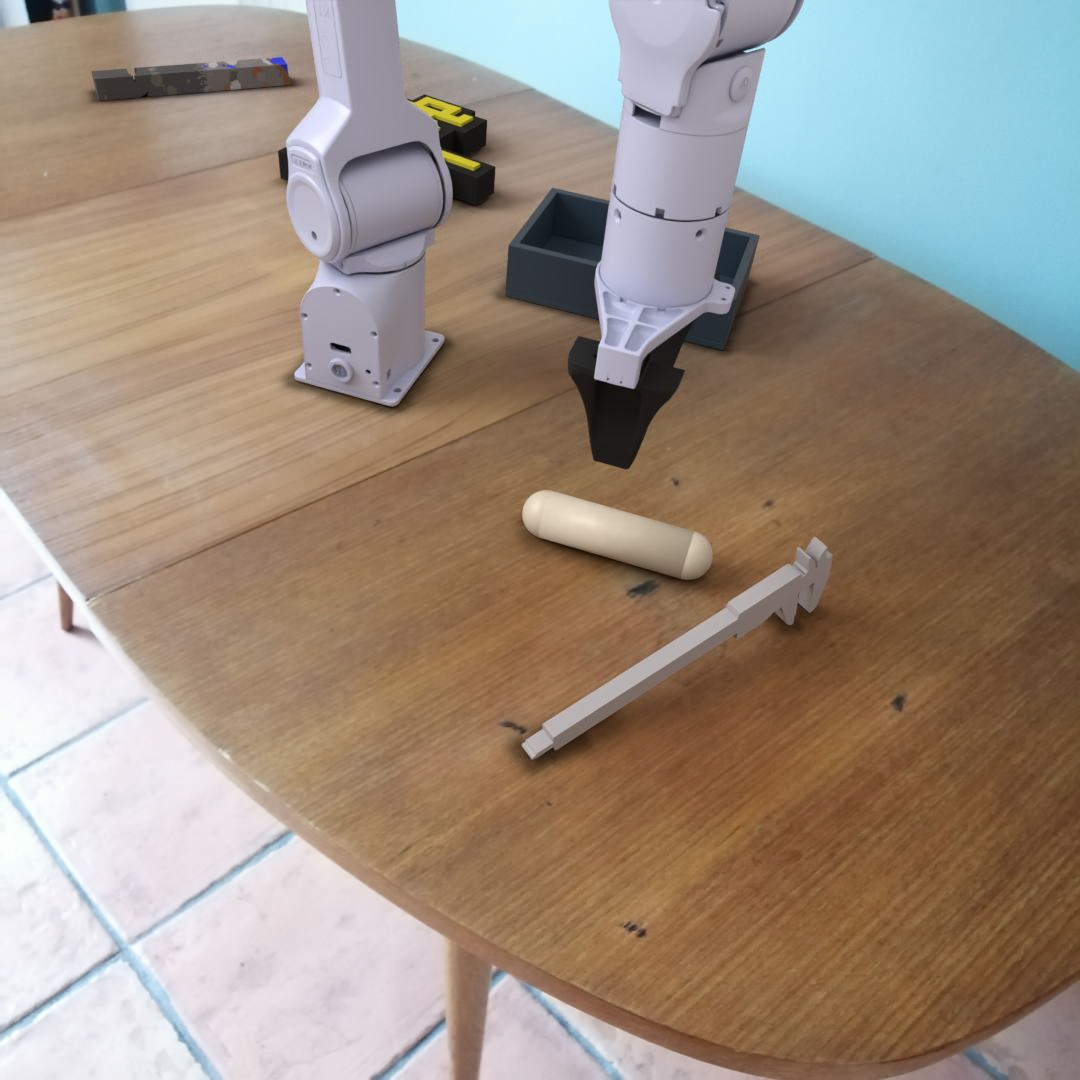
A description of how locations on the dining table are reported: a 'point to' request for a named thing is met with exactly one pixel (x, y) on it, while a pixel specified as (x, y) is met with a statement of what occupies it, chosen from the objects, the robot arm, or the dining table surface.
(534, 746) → the caliper
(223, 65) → the pillar
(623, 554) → the cream capsule shape
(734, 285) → the bin
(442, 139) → the toy
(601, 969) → the dining table surface
